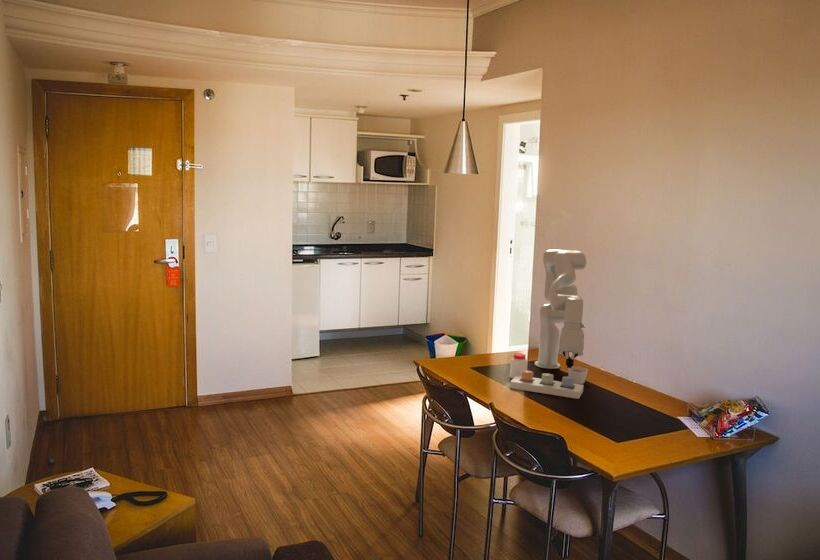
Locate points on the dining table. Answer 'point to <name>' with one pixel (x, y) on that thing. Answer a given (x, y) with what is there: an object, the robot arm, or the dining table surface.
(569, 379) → the button slate
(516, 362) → the pill bottle
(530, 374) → the button terracotta
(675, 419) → the dining table surface
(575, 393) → the console
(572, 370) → the candle
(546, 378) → the button sage
